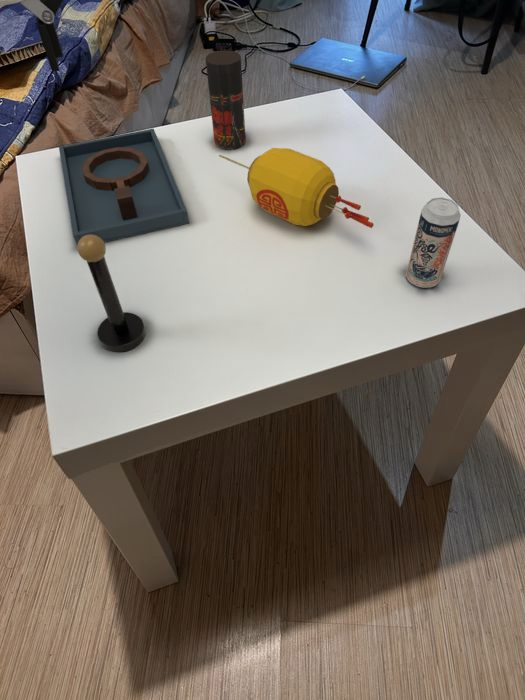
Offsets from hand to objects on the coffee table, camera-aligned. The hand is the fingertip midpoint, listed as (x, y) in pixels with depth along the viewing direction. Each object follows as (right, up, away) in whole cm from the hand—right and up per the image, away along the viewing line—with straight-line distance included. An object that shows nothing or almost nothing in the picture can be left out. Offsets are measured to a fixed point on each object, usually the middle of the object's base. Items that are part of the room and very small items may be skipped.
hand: (3, 74), depth 50 cm
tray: (0, +2, +41) cm, 41 cm away
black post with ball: (+6, -24, +19) cm, 31 cm away
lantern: (+29, -4, +35) cm, 46 cm away
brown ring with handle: (0, +2, +40) cm, 41 cm away
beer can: (+47, -16, +24) cm, 56 cm away
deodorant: (+19, +13, +50) cm, 55 cm away
